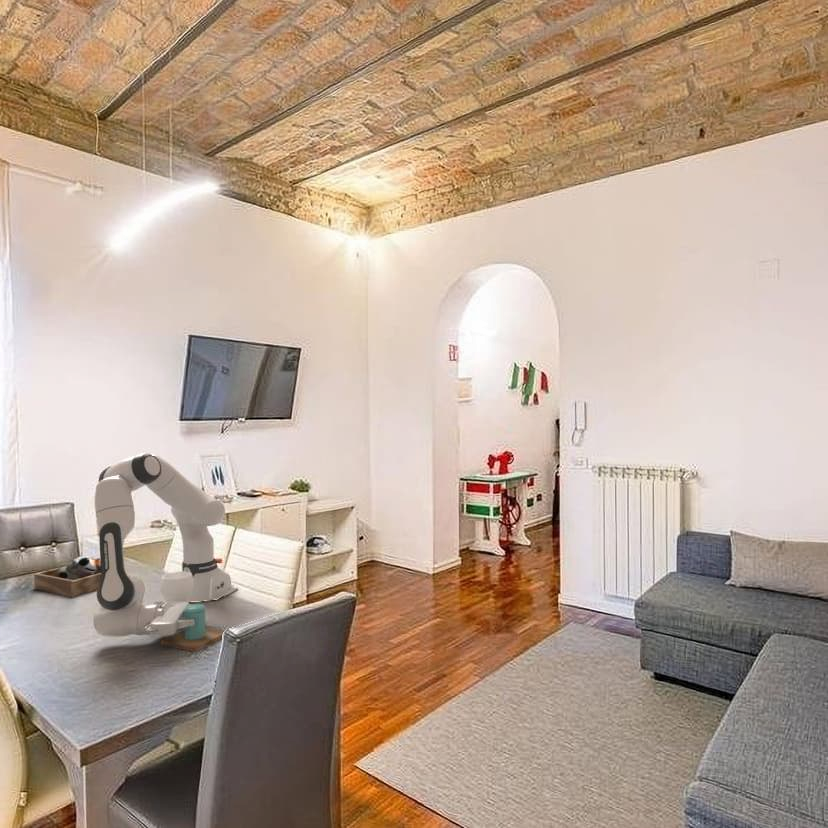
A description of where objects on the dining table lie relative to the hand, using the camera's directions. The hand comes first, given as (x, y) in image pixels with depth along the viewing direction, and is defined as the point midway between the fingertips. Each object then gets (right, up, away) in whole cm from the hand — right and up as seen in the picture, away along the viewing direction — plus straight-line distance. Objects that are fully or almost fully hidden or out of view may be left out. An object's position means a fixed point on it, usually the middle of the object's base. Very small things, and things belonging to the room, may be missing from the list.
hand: (198, 616), depth 186 cm
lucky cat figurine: (-73, -8, +63) cm, 97 cm away
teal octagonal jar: (-1, -6, 0) cm, 6 cm away
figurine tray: (-70, -7, +59) cm, 93 cm away
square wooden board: (-1, -7, 0) cm, 7 cm away
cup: (-14, -7, +19) cm, 24 cm away
